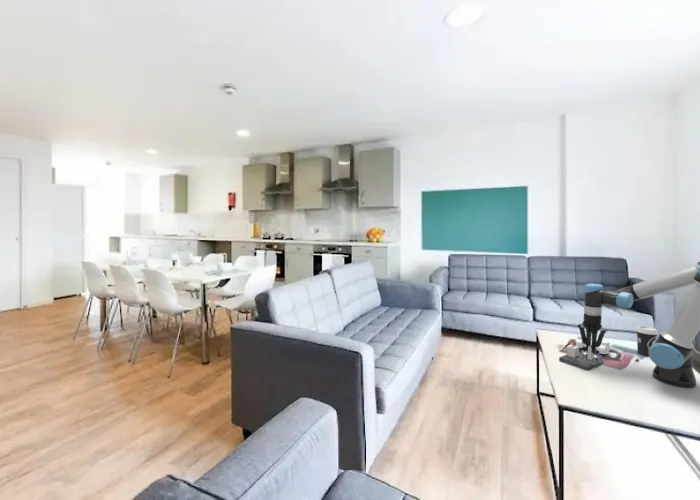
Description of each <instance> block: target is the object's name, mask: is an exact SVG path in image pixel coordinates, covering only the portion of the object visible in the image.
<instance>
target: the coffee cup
mask: <svg viewBox="0 0 700 500" xmlns="http://www.w3.org/2000/svg"><path fill="white" fill-rule="evenodd" d="M635 330H636V336H637V337H636V341H637V342H636V343H637V344H636V345H637V347H636V348H637V354H638V355H641V356H645V357H649V348H650V347H651V346H652V345H653V344H654V343H655V342H656V340H657V338H658V336H659V332H658V329H656V328H655V327H651V326H647V325H646V326H645V325H638V326H637V327H636V329H635Z"/></svg>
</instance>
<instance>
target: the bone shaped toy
mask: <svg viewBox="0 0 700 500" xmlns="http://www.w3.org/2000/svg"><path fill="white" fill-rule="evenodd" d="M576 336H577V337H576V340H575V346H577V347H579V349H580V348H582V349H583V347H584V348H586V344H584V343H582V338H581V334H578V335H576ZM591 344H592V339H591ZM610 344H611V343H610V341H609V340H608V339H603V340H602V342H601V345H600V346H599V347H596V350H597V351H598V352H599V354H600V353H601V354H606V355H608V354H609V352H610V349H611V346H610ZM607 353H608V354H607ZM601 354H600V355H601Z"/></svg>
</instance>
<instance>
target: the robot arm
mask: <svg viewBox="0 0 700 500" xmlns="http://www.w3.org/2000/svg"><path fill="white" fill-rule="evenodd" d="M690 286H693V287H692V289H691V290H690V293H689V294H688V295H687V297H686V299H685V301H684V302H683V304H682V306H681V307H680V309H679V311H678V313H677V314H676V316H675V317H674V319H673V321H672V322H671V324H670V326H669V327H668V329H667V330H662V331H661V332H660V334H658V336H657V338H656V342H655V343H654V344H653V345H652V346H651V347H650V348H649V356H648V357H649V359H650V360H651V361H652V362H653V363H654V364H655V366H654V368H653V369H652V377H653V378H654V379H655V380H657V381H659V382H662V383H664V384H667V385H670V386H674V387H679V388H686V389H689V388H694V387H696V386H697V378H696V375H695V372H694V370H693V363H694V362H693V361H694V356H695V355H694V354H695V345H696V339H695V338H696V336H697V335H698V333H699V331H700V261H697V262H696V263H695V265H693V266H689V267H686V268H684V269H680V270H676V271H673V272H670V273H667V274H664V275H661V276H658V277H655V278H652V279H648V280H644V281H640V282H637V283H635V284H632V285H629V286H624V287H622V288H620V289H619V288H618V289H617V290H610V289H609V290H608V289H604V285H602V284H601V283H600V284H599V283H587V284H585V288H584V305H583V321H582V323H579V324H577V327H578V329H579V332H580V334H581V338H582V343H584V344H586V347H585V352H587V353H588V359H593V356H594V355H595V353H596V352H597V351H596V347H599V346H600V345H601V342H602V341H603V340H604V337H605V334H606V333H607V332H608V330H607V329H604V328H603V325H602V317H603V316H602V314H603V312H602V311H603V305H606V306H610V307H617V308H621V309H622V308H623V309H630V308H632V306H633V305H634V302H636V301H639V300H643V299H646V298H651V297H654V296H656V295H657V296H658V295H661V294H663V293H667V292H671V291H674V290H678V289H682V288H686V287H690ZM598 332H599V334H598ZM580 334H579V335H580ZM591 340H592V344H591Z"/></svg>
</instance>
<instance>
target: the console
mask: <svg viewBox="0 0 700 500" xmlns="http://www.w3.org/2000/svg"><path fill="white" fill-rule="evenodd" d="M558 362H561V363H564V364H567V365H569V366H572V367H575V368H578V369H581V370H584V371H587V372H588V371H590V370H591V371H592V370H593V369H594V368H597V367H600V366H602V365H603V364H604V359H601V358H599V356H598V355H596V354H594V356H593V359H588V352H587V351H582V352H579V354H578V356H577V357H575V358H574V357H571V356H568V355H567V354H565V355H561V356H559V357H558ZM601 364H602V365H601Z"/></svg>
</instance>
